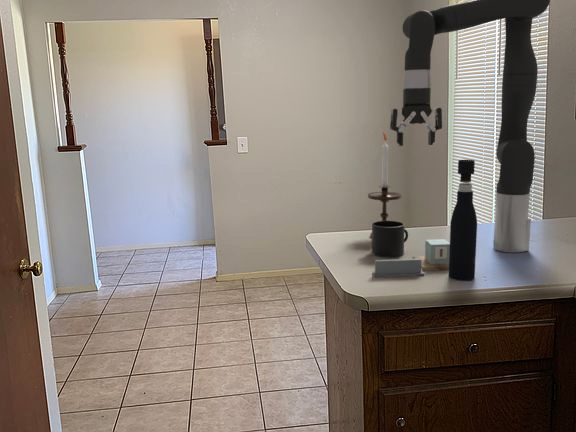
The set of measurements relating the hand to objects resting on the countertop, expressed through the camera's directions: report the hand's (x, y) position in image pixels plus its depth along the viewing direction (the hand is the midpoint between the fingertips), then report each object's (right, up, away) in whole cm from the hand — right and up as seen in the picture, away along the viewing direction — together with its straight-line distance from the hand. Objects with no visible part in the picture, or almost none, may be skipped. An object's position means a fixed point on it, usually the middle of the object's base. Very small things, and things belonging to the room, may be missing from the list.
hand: (415, 145), depth 161 cm
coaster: (+5, -34, -4) cm, 34 cm away
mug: (-5, -31, +8) cm, 33 cm away
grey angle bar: (-8, -36, -13) cm, 39 cm away
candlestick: (-4, -27, +28) cm, 39 cm away
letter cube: (+5, -33, -4) cm, 33 cm away
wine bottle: (+8, -36, -16) cm, 40 cm away
